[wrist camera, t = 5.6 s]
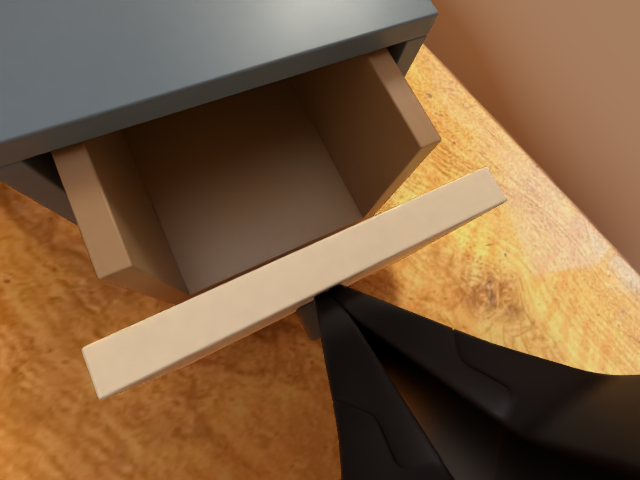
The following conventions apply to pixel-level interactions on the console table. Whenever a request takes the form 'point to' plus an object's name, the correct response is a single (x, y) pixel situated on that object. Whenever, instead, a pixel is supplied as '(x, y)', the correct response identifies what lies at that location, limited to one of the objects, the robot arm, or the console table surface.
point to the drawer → (256, 209)
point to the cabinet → (164, 64)
